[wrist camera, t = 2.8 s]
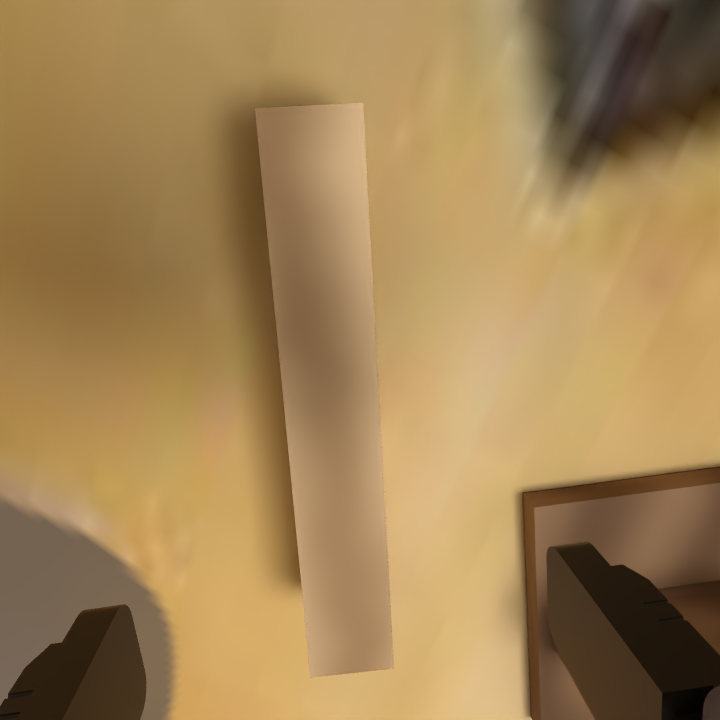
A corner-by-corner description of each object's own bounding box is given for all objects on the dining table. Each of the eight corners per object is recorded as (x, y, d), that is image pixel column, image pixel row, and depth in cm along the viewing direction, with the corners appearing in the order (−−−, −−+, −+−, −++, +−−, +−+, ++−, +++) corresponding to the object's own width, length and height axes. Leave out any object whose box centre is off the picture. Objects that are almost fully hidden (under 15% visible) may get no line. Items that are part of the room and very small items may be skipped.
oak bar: (352, 131, 24) (363, 102, 18) (378, 580, 30) (394, 668, 24) (269, 135, 24) (254, 108, 18) (311, 587, 29) (310, 677, 24)
